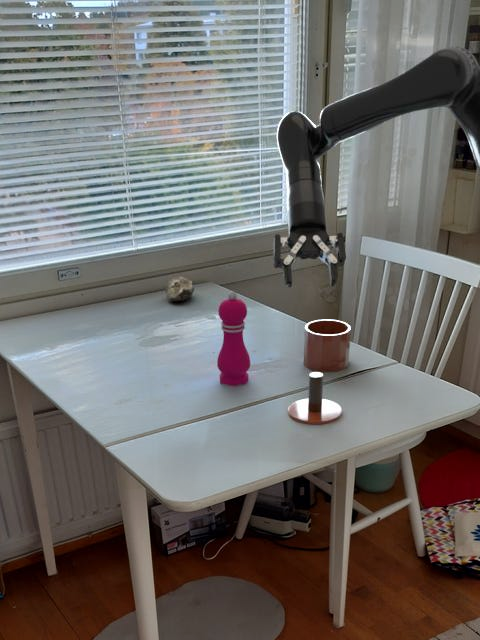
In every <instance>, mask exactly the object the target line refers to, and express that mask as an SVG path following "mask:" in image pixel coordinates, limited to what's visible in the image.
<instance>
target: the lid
mask: <svg viewBox="0 0 480 640" xmlns="http://www.w3.org/2000/svg"><path fill="white" fill-rule="evenodd" d="M323 392H324V374H323V372H320V371H314V372H310V373H309V375H308V393H307V394H308V397H307V398H303V399H298V400H296V401H294V402H292V403H291V404H289V406H288V408H287V414H288V416H289V417H290V418H291V419H292V420H294V421H296V422H298V423H302V424H307V425H326V424H330V423H333V422H335V421H337V420H338V419H340V418H341V417H342V413H343V410H342V407H341V405H339V404H338V403H337V402H334V401H332V400H329V399H325V398H323V397H324V396H323V394H324V393H323Z"/></svg>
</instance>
